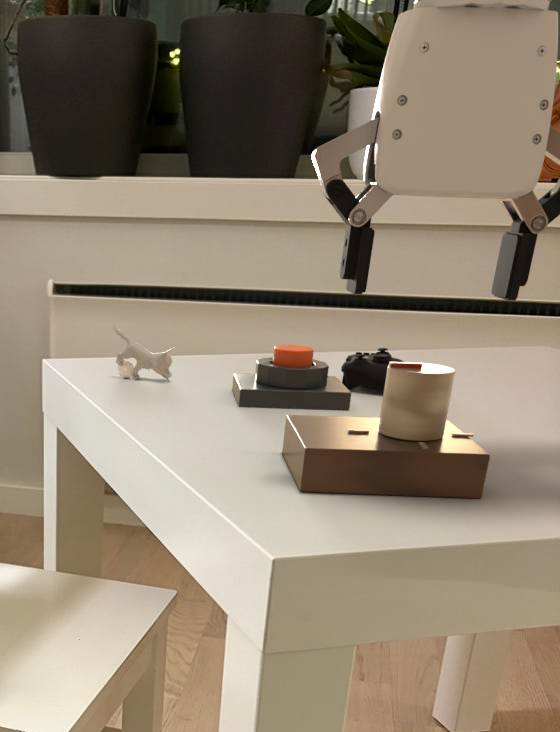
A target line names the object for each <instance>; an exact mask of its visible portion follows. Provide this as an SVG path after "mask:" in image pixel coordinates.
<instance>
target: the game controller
mask: <svg viewBox="0 0 560 732" xmlns="http://www.w3.org/2000/svg"><path fill="white" fill-rule="evenodd" d="M388 350H389V349H388V348H387V347H379V348H377V352H360V351H356V352H355V354H350V355H348V356H347V357H346V358H345V362H343V363H342V365H341V367H340V368H341V372H342V379H341V380H342V381H341V382H342V383H343V384H344V385H345V387H346V388H347V389H348V390H349V391H351V390H354V389H356V388H360V387H361V388H370V389H373V390H378V391H381V392H384V387H385V381H386V374H387V368H388V365H389V362H406V361H405V360H403V359H400V358H397V357H393V356H392V354H391V353H390V352H389V351H388Z"/></svg>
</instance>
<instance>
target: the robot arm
mask: <svg viewBox="0 0 560 732" xmlns="http://www.w3.org/2000/svg"><path fill="white" fill-rule="evenodd" d="M552 1H554V0H414V2H413V8H412V9H408V10H405V11H404V12H400V13H399V14H398V15H397V18H396V22H395V23H394V27H393V30H392V33H391V37H390V40H389V44H388V47H387V50H386V54H385V57H384V62H383V67H382V70H381V75H380V79H379V84H378V88H377V93H376V98H375V101H374V107H373V112H372V117H371V120H369V121H366V122H365V123H363V124H361V125H359V126H357V127H355V128H353V129H350V130H349V131H347V132H345V133H343V134H341V135H339V136H337V137H335V138H333V139H332V140H330V141H327V142H325V143H324V144H322V145H319V146H317V147H316V148H315V149H314V150H313V151H312V153H311V160H312V163H313V166H314V168H315V172H316V174H317V177H318V181H319V183H320V185H321V189H322V195H323V196H324V198H325V199H326V200H327V202H328V203H329V204H330V205H331V207H332V208H333V209H334V211H335V212H336V214H337V215H338V216H339V217H340V218H341V221H342V222H343V224H344V225H346V226H345V233H344V239H343V240H344V241H343V248H342V253H341V260H340V261H341V262H340V270H339V279H341V280H346V285H345V287H346V291H347V292H349V293H351V294H352V295H363V293H366V291H367V287H368V281H369V280H368V279H369V272H370V268H371V267H370V266H371V261H372V260H371V259H372V253H373V246H374V239H375V229H373V227H371V223H372V218H373V217H374V216H375V215H376V214H377V213H378V211H379V210H380V209H381V208H382V207H383V206H384V205H385V204H386V203H387V202H388V201H389V200H390V198H392V196H407V197H408V196H409V197H427V198H428V197H431V198H432V197H433V198H456V199H458V198H459V199H488V200H492V199H493V200H498V201H499V203H500V205H501V206H502V208H503V210H504V212H505V213H506V215H507V218H508V219H509V220H510V222H511V226H510V230H506V231H505V233H503V235H502V237H501V240H500V241H501V242H500V247H499V251H498V256H497V261H496V266H495V270H494V276H493V282H492V287H491V295H493V296H494V297H496V298H499V299H502V300H505V301H516V300H517V299H518V296H519V291H520V288H521V287H525V286H526V285H527V283H528V281H529V276H530V273H531V267H532V264H533V263H532V262H533V258H534V254H535V248H536V244H537V240H538V235H539V234H541V233H543V232H544V231H545V230H546V229H547V228H548V226H549V224H551V223H552V222H553V221H554V220H555V219H557V218H558V217H559V216H560V177H559V178H558V179H557V182H556V183H555V185H554V187H553V188H551V189H550V190H549V191H547V192H546V193H545V194H543V196H542V197H540V198H539V199H538V197H537V196H536V194H535V192H534V189H535V188H536V186H537V185H538V182H539V179H540V177H541V173H542V170H543V166H544V161H545V157H547V158H548V159H550V160H551V161H553V162H554V163H556V164H557V165H559V166H560V131H559V130H558V129H557V128H555V127H554V126H552V125H551V122H552V116H553V115H552V114H553V107H554V99H555V98H554V97H555V89H556V81H557V80H556V79H557V69H558V65H557V64H558V52H559V51H558V49H559V12H558V11H556V10H551V9H550V10H549V7H550V2H552ZM364 148H365V154H364V160H363V170H362V176H363V177H362V178H363V183H364V185H365V187H364V188H362V189H361V191H360V192H359V193H358V194H357V195H356V196H355V195H354V193H353V192H352V190H351V189H350V188H349V186H348V185H347V184H346V182H345V181H344V178H343V174H342V171H341V162H342V161H343V159H345V158H347V157H349V156H350V155H353V154H354V153H356V152H359V151H360V150H362V149H364Z"/></svg>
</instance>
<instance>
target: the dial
mask: <svg viewBox="0 0 560 732" xmlns="http://www.w3.org/2000/svg"><path fill="white" fill-rule="evenodd" d="M455 374H456V370H455V369H454V368H452V367H450V366H447V365H442V364H436V363H429V362H414V361H413V362H412V361H405V362H389V365H388V368H387V374H386V381H385V387H384V391H383V393H382V394H383V395H382V401H381V408H380V412H379V413H380V415H379V418H380V420H379V427H378V431H379V432H380V433H381V434H383V435H385V436H388V437H392V438H397V439H403V440H412V441H431V440H437V439H441V438H442V437H443V435H444V430H445V424H446V420H448V419H447V418H448V413H449V407H450V402H451V397H452V392H453V386H454V380H455Z"/></svg>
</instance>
